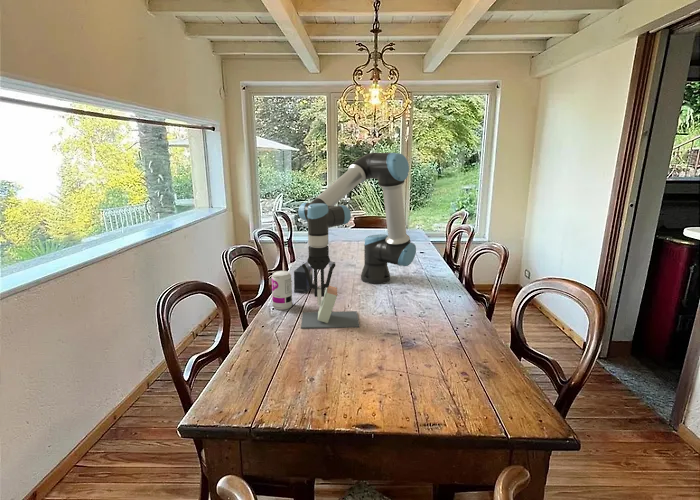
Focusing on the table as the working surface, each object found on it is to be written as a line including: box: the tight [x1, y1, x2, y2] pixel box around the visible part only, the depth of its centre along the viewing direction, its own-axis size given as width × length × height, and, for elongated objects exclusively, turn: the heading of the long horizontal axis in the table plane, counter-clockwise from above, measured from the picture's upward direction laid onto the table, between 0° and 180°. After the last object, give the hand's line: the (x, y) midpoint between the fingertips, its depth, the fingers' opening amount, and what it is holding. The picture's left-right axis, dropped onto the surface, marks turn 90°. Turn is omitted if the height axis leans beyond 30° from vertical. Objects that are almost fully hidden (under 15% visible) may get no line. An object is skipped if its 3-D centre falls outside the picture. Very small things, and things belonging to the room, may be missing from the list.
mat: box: [300, 310, 360, 330], centre depth 158 cm, size 22×14×1 cm, turn 94°
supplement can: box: [271, 270, 293, 311], centre depth 170 cm, size 8×8×15 cm
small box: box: [293, 264, 314, 294], centre depth 191 cm, size 11×6×10 cm, turn 168°
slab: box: [317, 285, 338, 323], centre depth 156 cm, size 4×8×12 cm, turn 4°
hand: (319, 304), depth 156 cm, fingers closed
